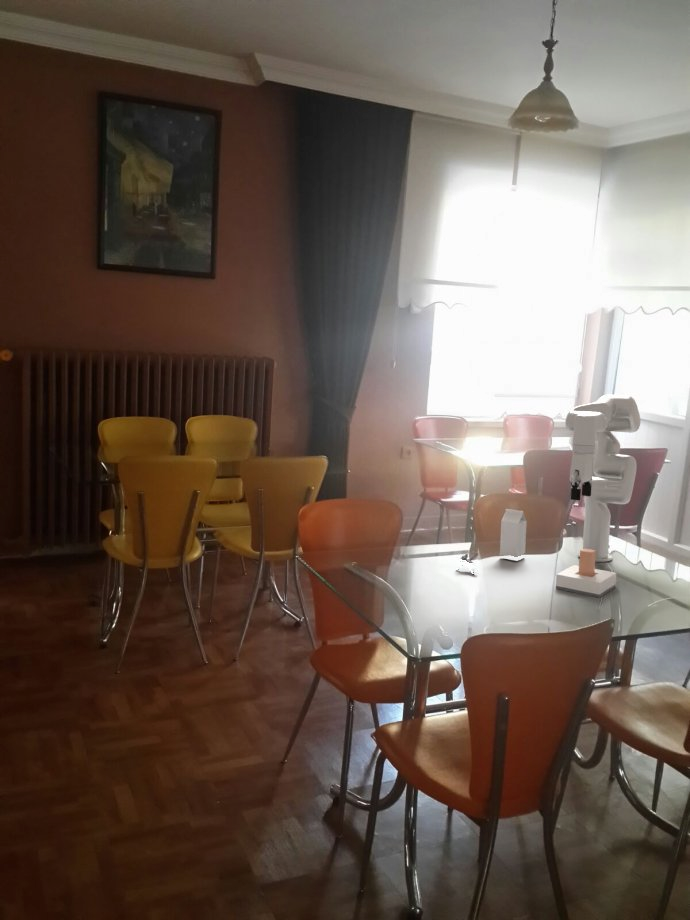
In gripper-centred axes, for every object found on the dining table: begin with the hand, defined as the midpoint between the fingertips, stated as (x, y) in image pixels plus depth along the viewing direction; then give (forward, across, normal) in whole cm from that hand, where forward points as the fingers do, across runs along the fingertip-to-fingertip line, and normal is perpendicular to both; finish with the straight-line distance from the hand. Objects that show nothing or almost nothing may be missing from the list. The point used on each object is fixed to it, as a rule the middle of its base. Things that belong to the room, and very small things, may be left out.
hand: (580, 497), depth 290 cm
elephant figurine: (+29, +20, -32) cm, 47 cm away
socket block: (+28, +12, +8) cm, 32 cm away
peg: (+27, +12, +8) cm, 31 cm away
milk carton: (+28, -6, -28) cm, 40 cm away
